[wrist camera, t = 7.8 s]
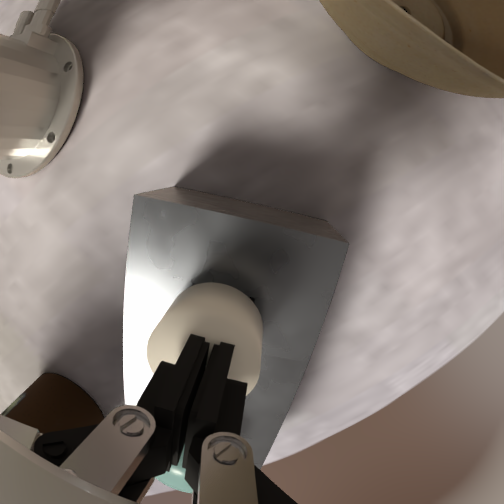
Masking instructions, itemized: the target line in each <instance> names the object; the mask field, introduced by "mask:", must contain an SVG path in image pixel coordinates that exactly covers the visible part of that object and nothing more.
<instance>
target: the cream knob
mask: <svg viewBox="0 0 504 504" xmlns="http://www.w3.org/2000/svg"><path fill="white" fill-rule="evenodd" d="M190 334H194V335H197V336H201V337H205V342H209V343H210V345H209V351H208V356H207V362H206V365H207V363H208V360H209V357H210V354H211V351H212V348H213V346H214V344H217V345H220V342H225V343H229V344H233V345H235V347H234V351H233V355H232V360H231V364H230V368H229V372H228V376H227V378H228V379H232V380H237V381H241V382H246V383H248V385H247V392H246V396H247V395H248V394H249V393H250V392H251V391H252V390H253V388H254V387H255V385H256V384H257V381H258V379H259V375H260V366H261V352H262V338H263V322H262V318H261V315H260V312H259V310H258V308H257V307H256V305H255V304H254V303H253V301H252V300H251V299H250V298H249V297H248V296H247V295H245V294H244V293H243V292H241V291H239V290H238V289H236V288H234V287H231V286H229V285H225V284H221V283H213V282H208V283H200V284H196V285H193V286H191V287H189V288H187V289H186V290H184V291H183V292H181V293H180V294H179V295H178V296H177V298H176V299H175V300H174V302H173V303H172V305H171V306H170V307H169V309H168V310H167V312H166V313H165V314H164V316H163V317H162V319H161V320H160V321H159V323H158V324H157V326H156V327H155V328H154V330H153V331H152V333H151V335H150V337H149V339H148V342H147V348H146V356H147V361H148V364H149V367H150V369H151V371H152V373H153V374H154V372H155V371H156V369H157V367H158V366H159V364H160V362H161V361H165V362H168V363H172V364H176V362H177V360H178V358H179V356H180V354H181V352H182V350H183V348H184V346H185V344H186V342H187V340H188V338H189V336H190ZM205 368H206V367H205Z"/></svg>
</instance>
